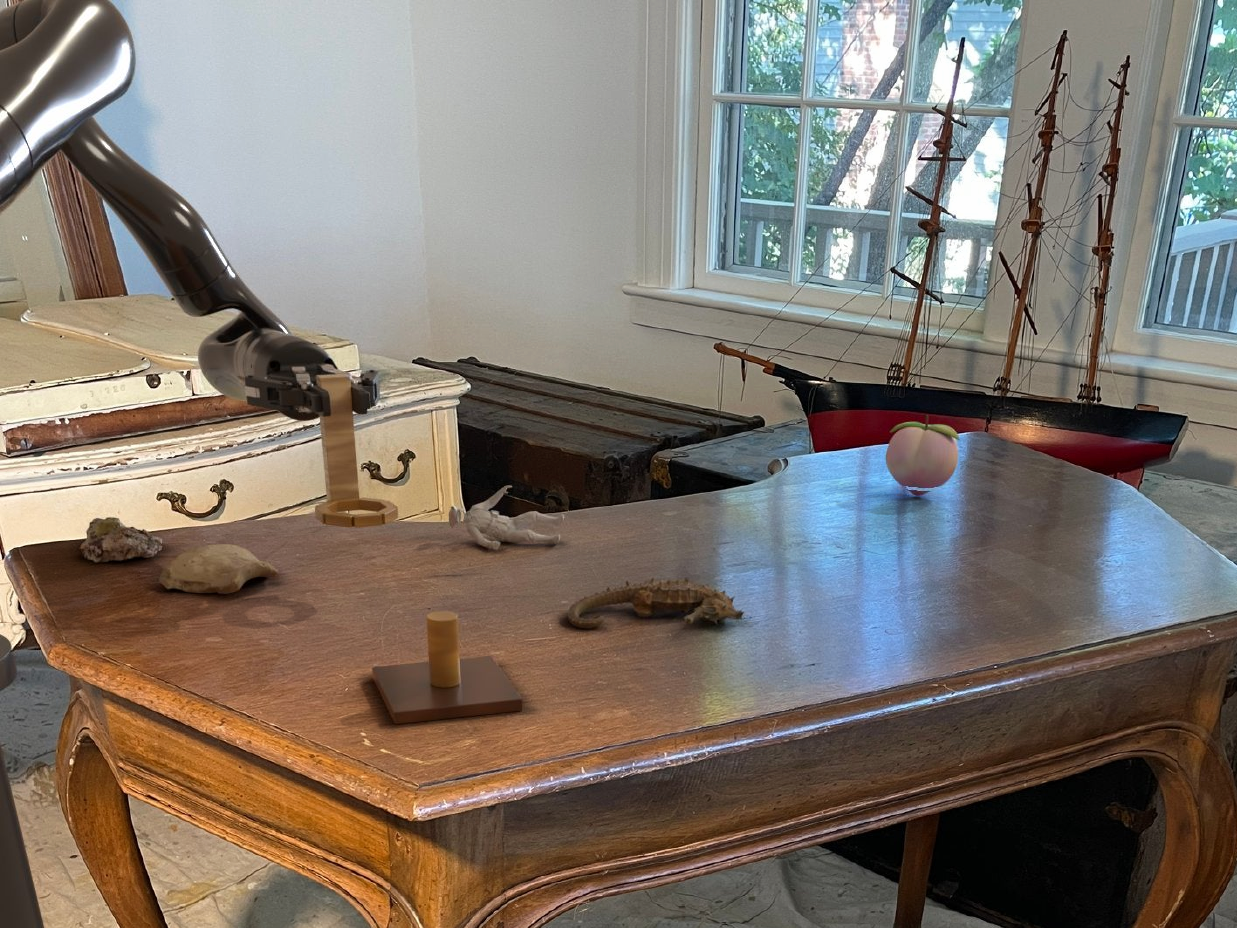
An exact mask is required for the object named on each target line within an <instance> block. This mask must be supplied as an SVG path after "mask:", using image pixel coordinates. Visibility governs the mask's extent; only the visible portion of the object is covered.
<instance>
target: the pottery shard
mask: <svg viewBox="0 0 1237 928" xmlns="http://www.w3.org/2000/svg"><path fill="white" fill-rule="evenodd" d="M278 575H279V571H278V570H277V568H275V567H274V566H273V564H271V563H269V562H267V561H262V560H260V559H258V558H257V557H256V556H255V555H254V554H253V553H251V551H250V550H249V549H247V548H244V547H242V546H238V545H235V544H234V545H233V544H228V543H224V544H223V543H221V544H208V545H202V546H197V547H195V548H192V549H190V550H187V551H185V552H183V553H180V554H178V555H177V556H176V557H175V558H174V559H172V560H171V561H170V562H169V563H168V564H167V565H166V566H165V567H164V569H163V570H162V572H161V574H160V577H159V578H158V579H159V580H158V581H159V583H160V584H161V585H162V586H164V588H166V589H167V590H172V589H177V590H181V591H183V592H186V593H194V594H212V593H213V594H214V593H217V594H221V595H223V594H231V593H235V592H238V591H239V590H240V589H241V588H242V586H243V585H244V584H245V583H246V582H247V581H249V580H252V579H254V578H261V577H262V578H267V579H271V578H272V579H275V578H276V577H277V576H278Z"/></svg>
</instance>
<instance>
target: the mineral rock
mask: <svg viewBox="0 0 1237 928" xmlns="http://www.w3.org/2000/svg"><path fill="white" fill-rule="evenodd" d="M85 533H86V539H85V541H83V542H82V543H81V545H80V546H79V548H78V551H79V552H81V555H83V556H82V557H83V558H85V559H87V560H88V561H93V562H94V563H106V562H109V561H116V562H121V561H127V560H130V559H135V558H140V557H142V558H144V559H145V558H146V559H148V558H152V557H155V555H157V554H158V552H160V551H161V550H162V549H163V546H162V545H163V539H162V538H160V537H158V536H155V535H153V534H152V533H151V532H150V531H148V530H146V529H144V528H142V529H138V528H136V527H135V526H126V525H125V524H123V522H121V520H120V518H119V517H113V516H112V517H111V516H108V517H105V518H99V517H95V518H93V519H92V520H91V521H89V524H88V528H87V529H86V531H85Z"/></svg>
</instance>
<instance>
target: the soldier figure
mask: <svg viewBox="0 0 1237 928" xmlns="http://www.w3.org/2000/svg"><path fill="white" fill-rule="evenodd" d="M510 488H513V486H512V485H505V486H504V487H502V488H501V489H500V490H499V489H498V491H496V493H494V494H493V495H492V496H490V497H489V498H488V499H486V500H485V501H483V502H480V503H477V504H474V505H472V506H471V508H470V509H469V510H468V511H466V512H464V511H465V509H464V508H459V507H458V506H454V505H452V506H451V507H450V509H449V511H448V523H449V526H450V527H451V530H454V528H455V526H456V525H457V524H461V521H463V522H464V523H465V525H466V526H465V527H466V531H467V532H468V534H469V535H470V536H471V537H472V538H473V539H474V541H475V542H476V543H477V544H478V545H479V546H482V547H484V548H487V549H492V550H493V549H494V550H496V551H498V549H499V548H500V546H501V542H500V541H502V542H505V543H507V542H508V543H521V542H529V543H533V544H536V543H547V542H549V543H552V544H555V545H557V544H559V542H560V540H561V534H560V533H559V534H556V535H543V534H540V533H536V532H535V531H533V530H531V529H527V528H526V529H524V528H525V527H527V526H531V525H532V524H535V523H536V524H554V525H556V527H557V526H558V527H561V526H562V524H563V523H564V519H565V514H564V513H562V514H561V515H559V516H556V517H555V516H550V515H545V514H543V513H540V512H538V511H536V510H534V511H528V512H524V513H521V514H520V515H517V516H515V517H513V518H512V519H510V517H509V516H507V515H500V511H497V510H490V509H492V508H493V507H495V506H496V505H497V504H498V502H499V501H500V500H501V498H502V497H503V496H504V494H509V492H508V491H507V489H510ZM462 518H463V519H462ZM483 534H484V535H487V536H488V537H490V538H495V539H497V540H500V541H497V540H493V541H490V540H489V539H487V538H485V537H484V535H483Z"/></svg>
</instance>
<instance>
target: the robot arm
mask: <svg viewBox="0 0 1237 928" xmlns="http://www.w3.org/2000/svg"><path fill="white" fill-rule="evenodd" d="M136 65H137V55H136V48H135V41H134V37H133V35H132V31H131V30H130V27H129V24H128V22H127V21H126V19H125V17H124V16H123V14H122V13H121V11H120V10H119V9H118V8H117V6H115V5H114V3H113V2H112V1H111V0H21V1H18V2H15V3H13V4H11V5H8V6H6V7H4V8H2V9H1V10H0V216H1V215H3V214H4V213H5V212H6V211H7V210H8V209H9V208H10V207H11V206H12V205H13V204H14V203H15V201H17V200H18V199H19V197H21V195H23V193H24V192H25V191H26V190H27V188H28V187H29V186H30V185H31V184H32V182H33V181H34V180H35V178H37V176H38V175H39V174H40V173H41V172H42V171H43V169H44V168H45V167H46V166H47V165H48V164H49V163H50V162H51V161H52V160H53V159H54V158H55V156H56V155H57V154H58V153H59V152H61V154H63V156H64V157H65V158H66V159H67V160H68V162H69V163H70V164H71V166H73V167H74V169H75V170H76V172H78V173H79V174H80V175H81V177H82V178H83V179H84V180H85V181H86V182H87V184H88V185H90V187H91V188H92V189H93V190H94V192H95V193H97V195H98V196H99V197H100V198H101V199H102V200H103V202H104V203H105V204H106V205H107V206H108V207H109V208H110V210H111V211H112V212H113V213H114V215H115V216H116V217H117V218H118V219H119V221H120V222H121V223H122V224H123V226H124V227H125V228H126V229H127V231H128V232H129V233H130V235H131V236H132V238H133V239H134V240H135V242H136V243H137V245H138V246H139V247H140V249H141V250H142V252H143V253H144V255H145V256H146V258H147V260H148V261H149V263H150V264H151V265H152V268H153V269H154V270H155V272H156V273H157V275H158V276H159V278H160V280H161V281H162V282H163V284H164V286H165V287H166V289H167V290H168V291H169V294H171V296H172V298H173V299H174V301H175V302H176V304H177V305H178V306H179V308H180V309H181V311H183V312H184V313H185V314H186V315H188V316H190V317H193V318H203V317H207V316H211V315H214V314H216V313H220V312H222V311H227V310H237V311H238V315H237V316H234V317H233V318H231V319H230V320H229V321H227V322H226V323H224V324H223V325H221V326H220V327H219V328H217V329H216V330H214V331H213V332H211V333H209V334H208V335H207V336H206V337H204V339H203V340H202V341H201V342H200V344H199V346H198V350H197V361H198V366H199V369H200V371H201V373H202V375H203V376H204V378H205V379H206V381H207V382H208V384H209V385H211V386H212V387H213V388H214V390H215V391H218V392H219V393H220V394H221V395H223V396H225V397H227V398H229V399H230V400H234V401H239V402H246V404H247V405H249V406H250V407H251V406H252V407H259V408H265V409H269V410H273V411H274V410H275V411H277V412H278V413H280V415H283V416H285V417H287V418H288V419H292V420H294V421H300V422H309V421H314V420H316V419H320V416H322V417H328V416H331V406H330V396H329V392H328V391H327V390H325V389H323V388H320V387H319V386H317V383H316V375H334V374H346V375H348V376H350V381H351V394H352V407H353V413H355V414H357V415H359V416H361V415H367V414H368V410H371V409H373V408H374V407H376V406H377V405H378V402H379V401H380V399H381V390H380V389H381V388H380V376H379V375H380V374H379V373H380V372H379V371H378V370H376V369H369V370H366V371H365V372H360V378H353V376H352V374H351V373H350V372H348V371H344V370H341V369H339V367H338V366H337V364H336V363H335V361H334V360H333V358H332V357H331V355H330V354H329V353H328V351H326V350H325V349H324V348H323V347H321V346H319V345H317V344H316V343H314V342H311V341H309V340H307V339H304V338H303V337H300V336H297V335H295V334H293V333H292V331H291V330H290V329H289V327H288V326H287V324H285V322H284V321H283V320H282V319H281V318H280V317H279V316H278V315H277V314H276V313H275V312H274V311H273V310H272V309H271V308H269V307H268V306H267V305H266V304H265V303H264V302H263V301H262V300H261V299H260V298H259V297H258V296H257V295H256V294H255V293H254V291H252V290H251V288H249V286H248V285H247V284H246V283H245V282H244V280H243V279H242V278H241V276H240V275H239V274H238V273H237V271H236V270H235V268H234V267H233V266H232V265H233V264H232V263H231V262H230V260H229V259H228V257H227V255H226V253H225V252H224V251H223V249H222V247H221V246H220V244H219V242H218V241H217V238H216V237H215V236H214V234H213V232H212V231H211V229H210V228H209V226H208V224H207V223H206V221H205V220H204V218H203V217H202V216H201V215H200V213H199V212H198V211H197V209H195V208H194V206H192V204H191V203H190V202H189V201H187V200H186V198H185V197H184V196H182V195H181V194H180V193H178V192H177V191H176V189H174V188H172V187H171V186H169V184H167V183H166V182H164V181H163V180H162V179H160V178H158V177H157V176H156V175H154V174H153V173H152V172H150V171H149V170H147V169H146V168H145V167H144V166H143V165H141V164H140V163H138V162H137V161H136V160H135V159H133V158H132V157H131V156H130V155H129V154H128V153H127V152H125V151H124V149H122V148H121V147H119V145H118V144H116V142H114V140H113V139H111V137H110V136H109V135H108V134H107V133H106V132H105V131H104V129H103V128H102V126H101V125H99V123H98V122H97V120H96V118H95V117H94V116H95V115H96V114H98V113H99V112H101V111H102V110H104V109H106V107H108V106H109V105H111V104H112V103H114V102H116V101H117V100H119V99H121V98H122V97H123V96H125V95H126V94H127V93H128V91H129V89H130V87H131V85H132V83H133V80H134V77H135V74H136ZM319 415H320V416H319Z"/></svg>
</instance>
